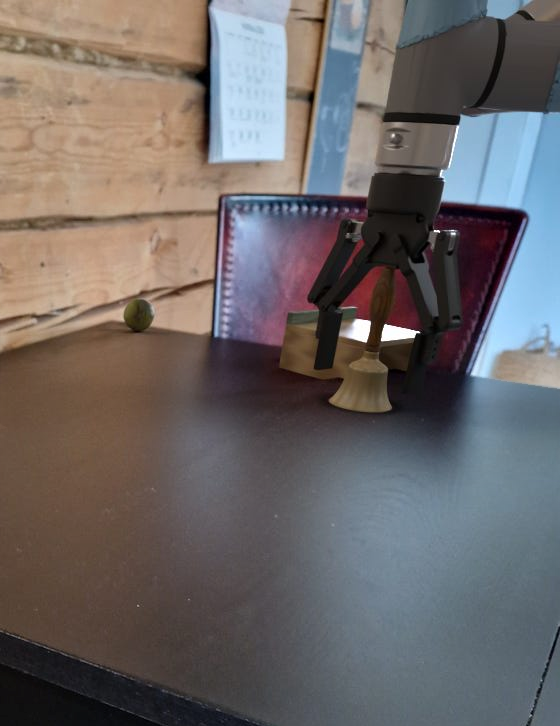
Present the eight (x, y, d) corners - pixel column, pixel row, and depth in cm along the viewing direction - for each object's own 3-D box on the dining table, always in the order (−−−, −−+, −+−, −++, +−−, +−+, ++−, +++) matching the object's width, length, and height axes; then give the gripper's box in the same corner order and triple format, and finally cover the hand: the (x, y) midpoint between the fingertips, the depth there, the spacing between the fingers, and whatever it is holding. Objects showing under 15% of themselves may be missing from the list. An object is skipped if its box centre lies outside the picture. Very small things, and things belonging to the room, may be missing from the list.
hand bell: (403, 422, 99) (439, 274, 91) (332, 419, 99) (362, 270, 91) (382, 404, 106) (414, 265, 98) (316, 400, 106) (342, 261, 98)
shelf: (421, 379, 120) (435, 323, 116) (358, 390, 112) (371, 330, 108) (341, 359, 129) (352, 306, 125) (278, 367, 122) (287, 312, 118)
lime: (118, 329, 141) (120, 297, 138) (141, 328, 143) (144, 296, 141) (134, 334, 138) (137, 302, 135) (158, 332, 140) (161, 300, 138)
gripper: (297, 164, 96) (267, 361, 107) (496, 178, 80) (436, 409, 91) (340, 167, 100) (306, 356, 111) (538, 180, 84) (476, 401, 95)
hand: (365, 380), depth 101 cm, fingers open, 12 cm apart
